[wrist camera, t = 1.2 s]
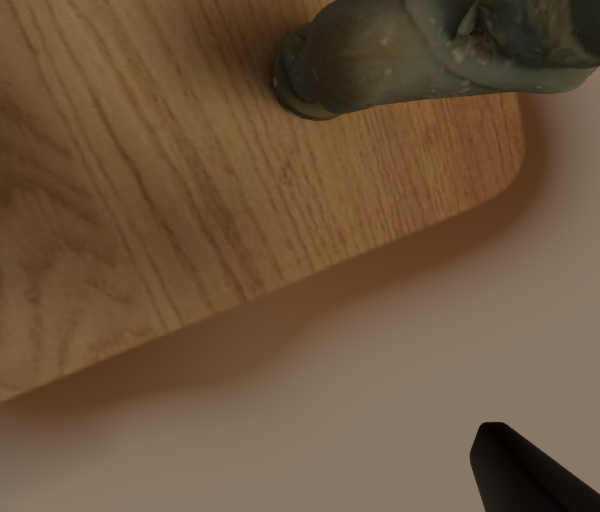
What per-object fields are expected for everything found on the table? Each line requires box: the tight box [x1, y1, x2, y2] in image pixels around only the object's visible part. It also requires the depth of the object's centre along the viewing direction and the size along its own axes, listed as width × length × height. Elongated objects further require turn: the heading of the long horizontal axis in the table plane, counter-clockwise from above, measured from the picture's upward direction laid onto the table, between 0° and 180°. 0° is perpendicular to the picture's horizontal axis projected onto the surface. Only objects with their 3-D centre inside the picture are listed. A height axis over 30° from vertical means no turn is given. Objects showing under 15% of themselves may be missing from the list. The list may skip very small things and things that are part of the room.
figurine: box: [270, 0, 600, 121], centre depth 13 cm, size 5×7×18 cm
